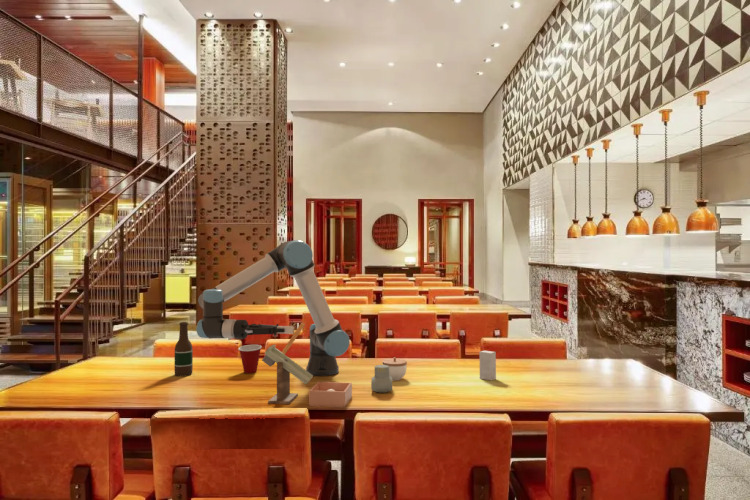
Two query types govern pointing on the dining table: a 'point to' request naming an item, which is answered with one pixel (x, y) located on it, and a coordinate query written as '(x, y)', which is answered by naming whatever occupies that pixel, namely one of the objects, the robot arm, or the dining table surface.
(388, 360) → the lidded jar
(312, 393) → the pink open box
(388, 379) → the air freshener
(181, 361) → the beer bottle
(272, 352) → the lever
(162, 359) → the dining table surface
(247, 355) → the plastic cup
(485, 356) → the skincare box
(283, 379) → the stand
